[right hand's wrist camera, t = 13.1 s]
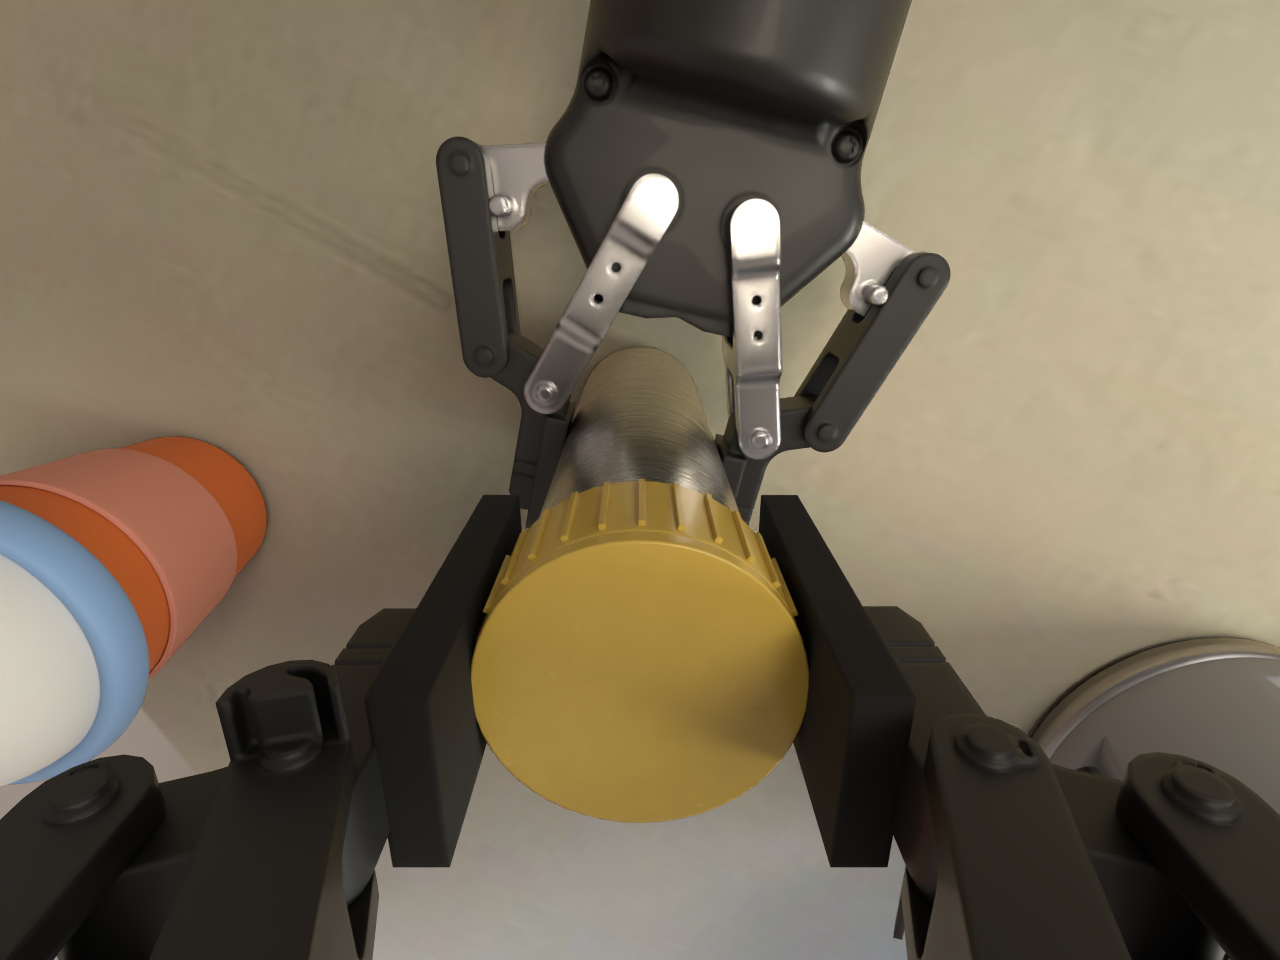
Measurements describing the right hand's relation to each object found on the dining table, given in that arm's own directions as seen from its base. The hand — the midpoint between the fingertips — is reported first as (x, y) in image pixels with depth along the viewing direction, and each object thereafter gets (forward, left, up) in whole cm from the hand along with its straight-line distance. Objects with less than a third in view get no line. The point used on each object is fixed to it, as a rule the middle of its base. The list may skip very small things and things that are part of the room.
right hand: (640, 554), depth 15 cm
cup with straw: (+18, -5, -13) cm, 23 cm away
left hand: (+2, +2, -7) cm, 7 cm away
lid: (0, 0, +4) cm, 4 cm away
